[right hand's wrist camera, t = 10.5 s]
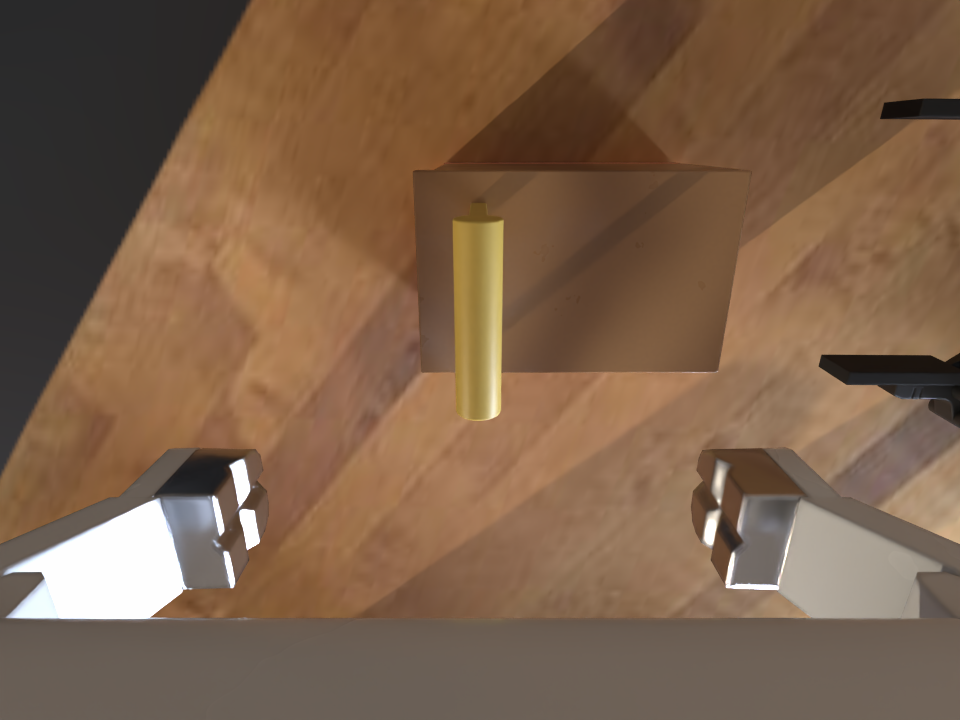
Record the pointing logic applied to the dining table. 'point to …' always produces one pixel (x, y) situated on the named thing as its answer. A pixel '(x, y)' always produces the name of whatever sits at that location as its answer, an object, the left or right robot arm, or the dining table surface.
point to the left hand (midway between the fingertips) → (863, 250)
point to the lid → (573, 273)
